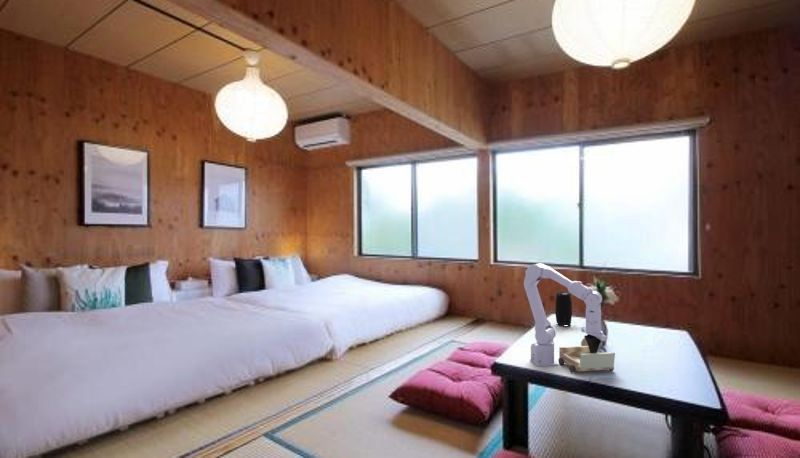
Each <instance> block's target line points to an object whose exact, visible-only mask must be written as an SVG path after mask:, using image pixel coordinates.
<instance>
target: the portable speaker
mask: <svg viewBox="0 0 800 458" xmlns="http://www.w3.org/2000/svg"><path fill="white" fill-rule="evenodd" d="M554 310H555V320H556V324H557V323H558V324H557V325H560V326H561V325H568V326H570V325H572V324H571V323H572V318H573V302H572V296H571V293H570V292H566V291H558V292H556V295H555V309H554ZM569 324H570V325H569Z"/></svg>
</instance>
